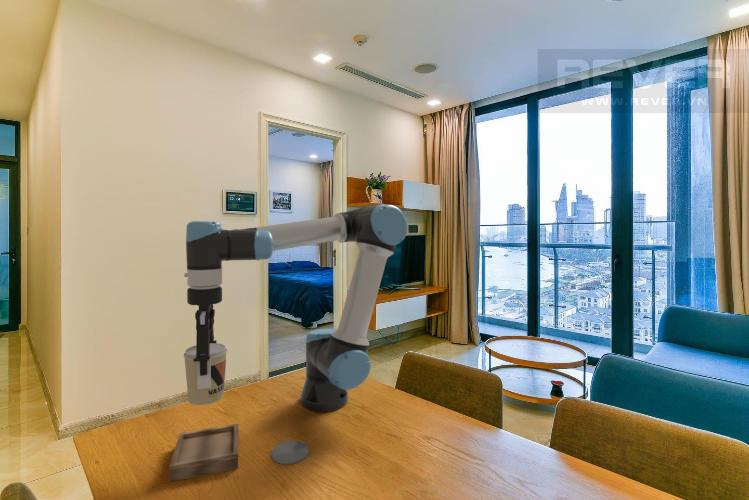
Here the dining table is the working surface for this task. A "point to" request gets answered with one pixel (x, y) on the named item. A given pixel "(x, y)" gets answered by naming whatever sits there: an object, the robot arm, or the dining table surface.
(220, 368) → the coffee cup
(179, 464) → the square wooden tray
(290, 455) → the slate coaster
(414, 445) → the dining table surface
